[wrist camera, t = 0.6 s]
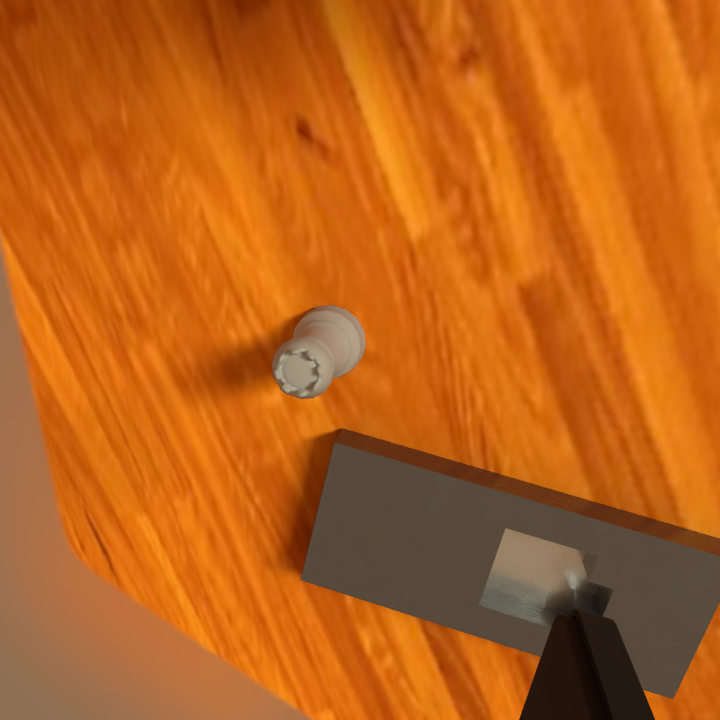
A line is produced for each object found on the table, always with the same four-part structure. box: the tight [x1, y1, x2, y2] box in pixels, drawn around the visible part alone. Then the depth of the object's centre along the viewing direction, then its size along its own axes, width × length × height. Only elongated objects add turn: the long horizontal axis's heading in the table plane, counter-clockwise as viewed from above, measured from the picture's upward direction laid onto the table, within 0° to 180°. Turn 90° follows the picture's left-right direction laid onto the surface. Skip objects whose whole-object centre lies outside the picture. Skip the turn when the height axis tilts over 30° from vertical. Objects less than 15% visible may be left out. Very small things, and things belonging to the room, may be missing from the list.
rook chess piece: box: [272, 305, 366, 399], centre depth 34 cm, size 4×4×8 cm
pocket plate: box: [301, 428, 720, 699], centre depth 38 cm, size 10×24×2 cm, turn 76°
